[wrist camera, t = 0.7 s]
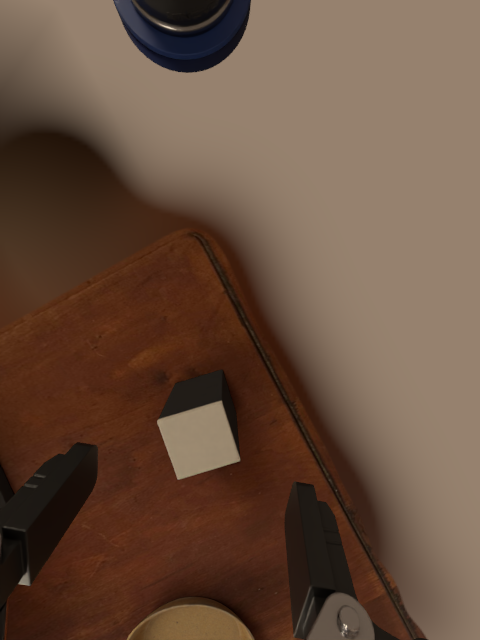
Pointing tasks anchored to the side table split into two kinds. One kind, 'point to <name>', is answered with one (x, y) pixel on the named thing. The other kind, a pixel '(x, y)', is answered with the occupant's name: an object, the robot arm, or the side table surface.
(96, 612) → the side table surface
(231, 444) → the block
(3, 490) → the wooden socket on base
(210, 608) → the plant saucer
